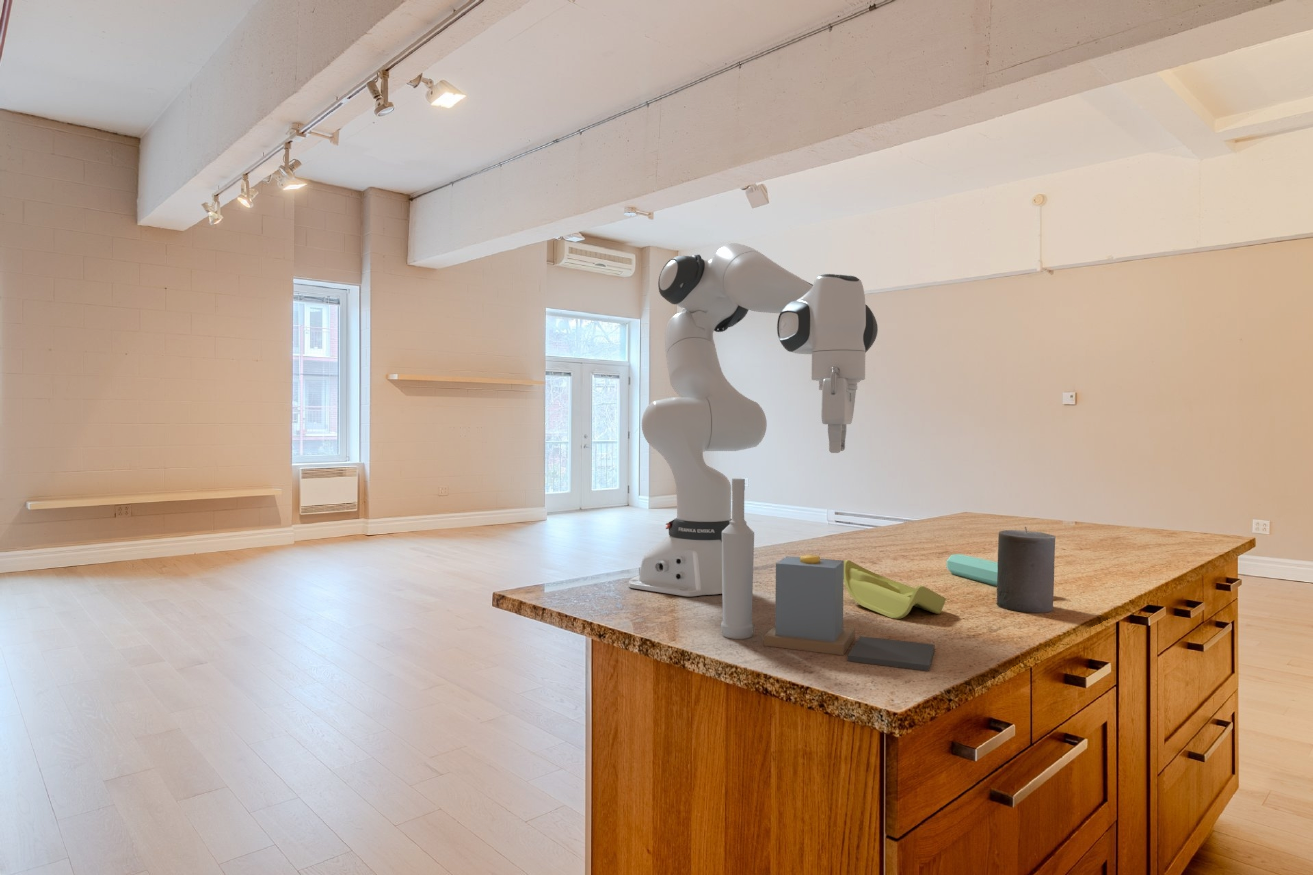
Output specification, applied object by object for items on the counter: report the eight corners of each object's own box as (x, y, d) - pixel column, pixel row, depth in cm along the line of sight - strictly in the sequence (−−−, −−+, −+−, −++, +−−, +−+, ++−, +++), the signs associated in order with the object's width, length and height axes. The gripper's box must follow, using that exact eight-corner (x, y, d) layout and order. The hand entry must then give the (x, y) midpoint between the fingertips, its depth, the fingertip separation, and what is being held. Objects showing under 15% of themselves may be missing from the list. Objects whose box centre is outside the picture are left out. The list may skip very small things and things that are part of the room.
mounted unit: (763, 645, 119) (764, 558, 119) (780, 629, 128) (781, 548, 128) (843, 655, 114) (844, 564, 114) (854, 638, 123) (855, 554, 123)
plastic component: (951, 601, 139) (916, 582, 135) (936, 640, 139) (900, 621, 134) (873, 573, 157) (840, 555, 152) (859, 607, 156) (825, 590, 152)
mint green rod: (946, 546, 178) (1028, 564, 154) (966, 555, 180) (1050, 574, 156) (937, 571, 178) (1019, 592, 154) (957, 579, 179) (1041, 602, 155)
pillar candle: (988, 607, 145) (990, 526, 144) (1005, 598, 152) (1008, 521, 152) (1045, 616, 138) (1047, 532, 138) (1060, 606, 146) (1062, 526, 145)
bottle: (735, 641, 121) (737, 480, 121) (714, 633, 125) (715, 478, 125) (760, 636, 124) (761, 479, 124) (738, 629, 128) (739, 477, 128)
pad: (847, 660, 111) (847, 655, 111) (859, 641, 121) (859, 636, 121) (928, 671, 107) (928, 665, 107) (934, 649, 117) (934, 644, 117)
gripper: (853, 365, 121) (853, 454, 121) (860, 373, 140) (859, 450, 141) (812, 365, 123) (811, 453, 123) (824, 373, 142) (823, 449, 142)
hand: (837, 451), depth 132 cm, fingers open, 8 cm apart
